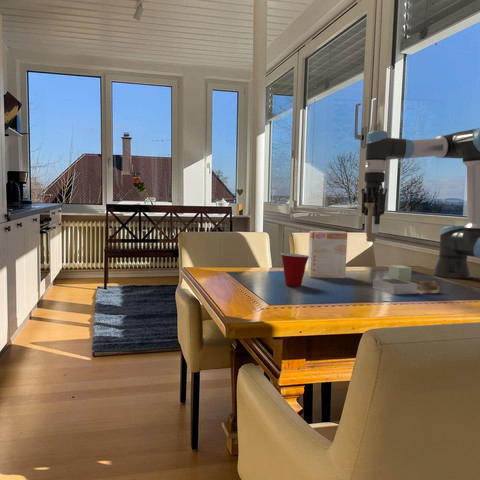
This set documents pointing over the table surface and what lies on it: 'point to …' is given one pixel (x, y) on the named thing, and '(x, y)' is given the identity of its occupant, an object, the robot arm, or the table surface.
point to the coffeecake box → (327, 254)
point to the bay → (424, 286)
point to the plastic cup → (294, 268)
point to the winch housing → (395, 286)
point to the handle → (370, 222)
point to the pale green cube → (400, 272)
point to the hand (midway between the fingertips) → (371, 232)
